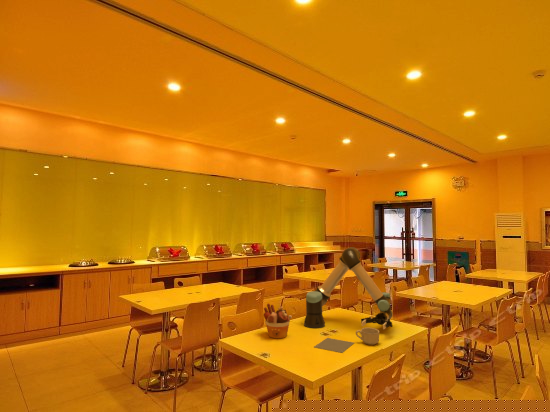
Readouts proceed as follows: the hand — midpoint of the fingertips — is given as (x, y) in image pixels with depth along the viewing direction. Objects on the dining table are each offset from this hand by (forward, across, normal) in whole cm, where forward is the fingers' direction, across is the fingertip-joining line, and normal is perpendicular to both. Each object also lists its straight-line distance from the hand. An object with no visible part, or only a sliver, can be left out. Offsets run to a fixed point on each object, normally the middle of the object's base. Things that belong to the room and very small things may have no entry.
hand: (372, 325), depth 215 cm
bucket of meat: (+27, +55, -8) cm, 62 cm away
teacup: (+10, 0, -8) cm, 13 cm away
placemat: (+24, +16, -8) cm, 30 cm away
